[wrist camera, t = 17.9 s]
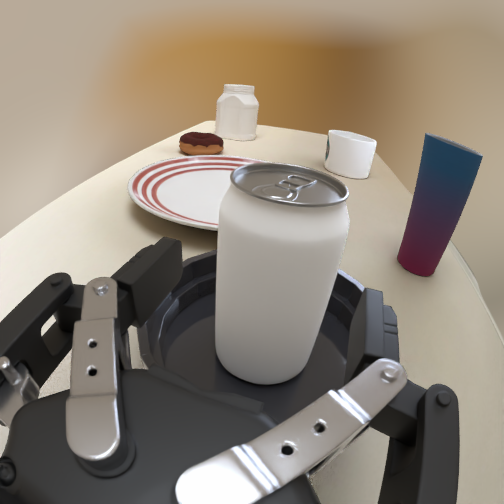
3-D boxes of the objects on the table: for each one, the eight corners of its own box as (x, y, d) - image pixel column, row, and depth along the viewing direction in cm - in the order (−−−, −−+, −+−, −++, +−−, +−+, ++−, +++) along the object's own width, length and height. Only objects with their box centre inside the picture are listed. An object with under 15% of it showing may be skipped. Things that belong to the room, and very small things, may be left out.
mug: (372, 183, 58) (380, 145, 53) (322, 172, 59) (329, 134, 55) (364, 167, 69) (371, 135, 65) (323, 158, 70) (328, 126, 66)
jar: (209, 137, 79) (212, 84, 71) (221, 132, 87) (225, 83, 79) (250, 142, 77) (255, 87, 69) (259, 136, 85) (264, 87, 77)
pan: (308, 271, 30) (316, 237, 28) (412, 401, 17) (438, 369, 15) (137, 297, 24) (130, 259, 22) (175, 490, 12) (165, 473, 10)
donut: (221, 158, 61) (223, 139, 59) (174, 156, 60) (175, 138, 58) (224, 147, 70) (225, 131, 67) (183, 145, 69) (183, 129, 67)
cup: (381, 260, 33) (418, 131, 25) (401, 243, 37) (433, 133, 29) (431, 289, 29) (480, 157, 21) (445, 266, 33) (484, 154, 25)
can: (195, 355, 19) (190, 178, 13) (249, 305, 24) (266, 154, 18) (279, 405, 17) (331, 225, 10) (322, 341, 21) (371, 184, 15)
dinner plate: (287, 171, 57) (289, 154, 55) (363, 247, 35) (370, 222, 33) (139, 173, 50) (138, 155, 48) (115, 261, 28) (111, 232, 26)
